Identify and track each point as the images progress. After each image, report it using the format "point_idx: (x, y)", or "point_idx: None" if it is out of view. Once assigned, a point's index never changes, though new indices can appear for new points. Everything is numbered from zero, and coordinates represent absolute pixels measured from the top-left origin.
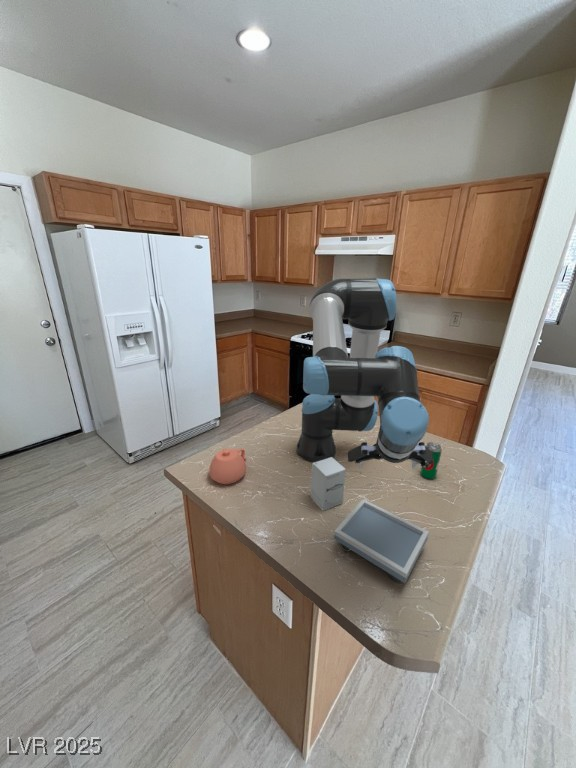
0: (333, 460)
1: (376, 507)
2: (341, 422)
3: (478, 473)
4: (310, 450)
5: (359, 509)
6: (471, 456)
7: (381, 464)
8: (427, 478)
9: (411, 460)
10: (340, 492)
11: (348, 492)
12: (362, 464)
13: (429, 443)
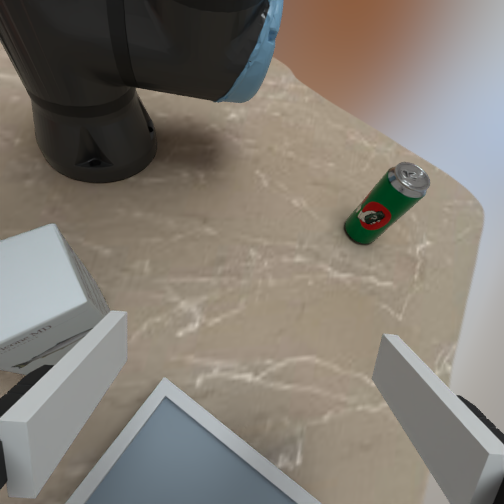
0: (50, 245)
1: (201, 419)
2: (139, 60)
3: (453, 226)
4: (61, 148)
5: (140, 429)
6: (444, 179)
7: (262, 194)
8: (357, 241)
9: (382, 344)
10: None
11: (154, 292)
12: (69, 443)
13: (402, 167)
